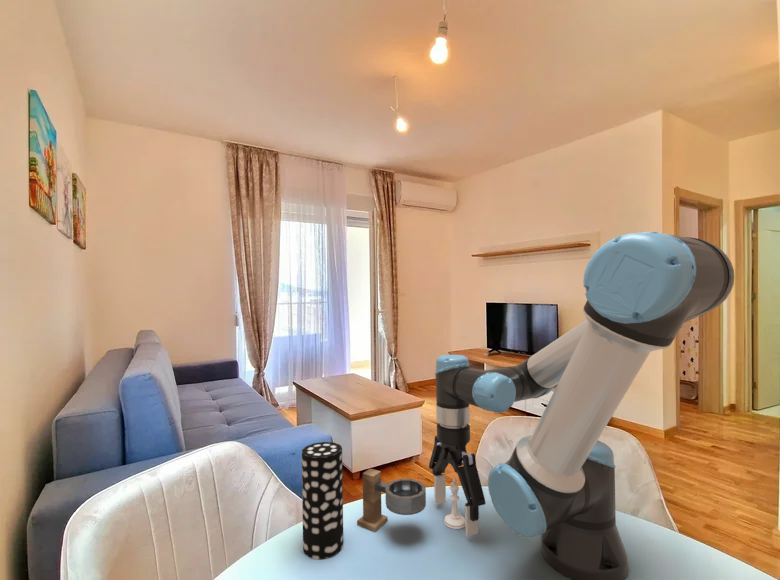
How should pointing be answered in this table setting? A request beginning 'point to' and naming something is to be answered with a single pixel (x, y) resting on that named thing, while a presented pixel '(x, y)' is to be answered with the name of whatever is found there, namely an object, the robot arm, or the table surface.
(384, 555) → the table surface
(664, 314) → the robot arm
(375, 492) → the walnut post
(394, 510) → the cup bracket
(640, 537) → the table surface
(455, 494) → the chess piece
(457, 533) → the table surface
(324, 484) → the white-spotted black cylinder
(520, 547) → the table surface
